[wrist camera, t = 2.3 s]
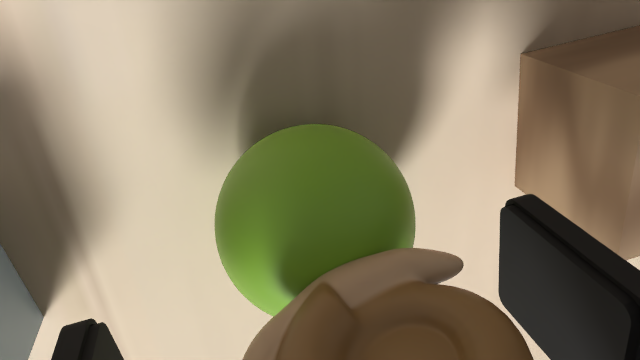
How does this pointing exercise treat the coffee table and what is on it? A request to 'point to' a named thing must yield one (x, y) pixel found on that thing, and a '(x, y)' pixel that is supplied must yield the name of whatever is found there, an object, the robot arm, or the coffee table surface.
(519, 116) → the walnut block
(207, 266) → the coffee table surface
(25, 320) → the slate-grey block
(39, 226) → the coffee table surface
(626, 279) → the robot arm
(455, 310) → the snail figurine
